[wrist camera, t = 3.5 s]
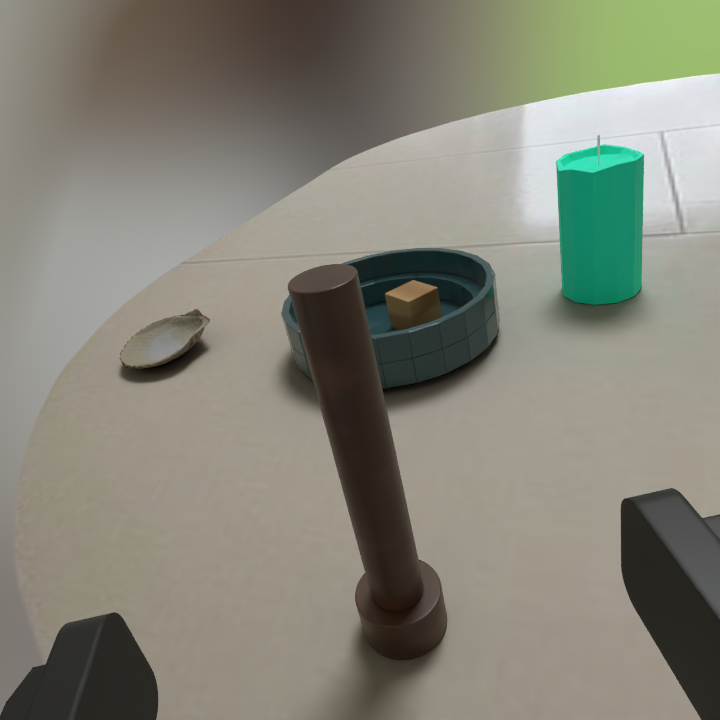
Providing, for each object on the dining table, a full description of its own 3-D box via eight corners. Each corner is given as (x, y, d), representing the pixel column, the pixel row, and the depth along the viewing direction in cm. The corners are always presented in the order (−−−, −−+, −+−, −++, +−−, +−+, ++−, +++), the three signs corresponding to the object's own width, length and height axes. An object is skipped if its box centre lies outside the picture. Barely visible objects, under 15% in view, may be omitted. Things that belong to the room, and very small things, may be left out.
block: (414, 337, 48) (408, 301, 47) (390, 327, 50) (384, 293, 49) (443, 321, 49) (438, 286, 48) (418, 312, 52) (413, 279, 50)
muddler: (377, 673, 25) (274, 315, 17) (354, 604, 28) (258, 276, 20) (461, 640, 25) (395, 279, 18) (429, 576, 29) (361, 246, 21)
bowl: (319, 422, 41) (303, 364, 39) (281, 330, 56) (268, 284, 53) (540, 351, 44) (536, 293, 42) (449, 280, 58) (443, 233, 56)
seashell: (132, 371, 58) (133, 388, 51) (114, 343, 57) (112, 356, 50) (210, 327, 60) (222, 338, 53) (194, 299, 59) (204, 306, 52)
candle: (568, 273, 54) (562, 130, 48) (644, 272, 51) (647, 120, 46) (555, 304, 50) (547, 150, 44) (637, 305, 47) (640, 141, 41)
